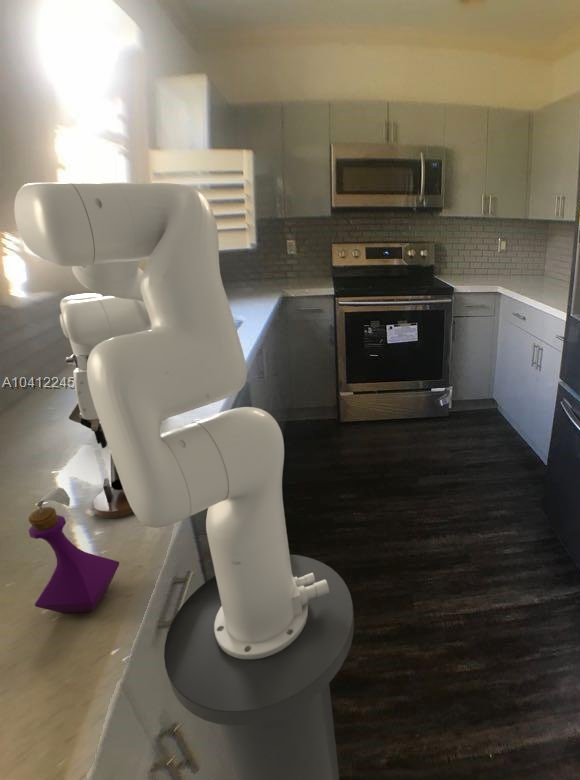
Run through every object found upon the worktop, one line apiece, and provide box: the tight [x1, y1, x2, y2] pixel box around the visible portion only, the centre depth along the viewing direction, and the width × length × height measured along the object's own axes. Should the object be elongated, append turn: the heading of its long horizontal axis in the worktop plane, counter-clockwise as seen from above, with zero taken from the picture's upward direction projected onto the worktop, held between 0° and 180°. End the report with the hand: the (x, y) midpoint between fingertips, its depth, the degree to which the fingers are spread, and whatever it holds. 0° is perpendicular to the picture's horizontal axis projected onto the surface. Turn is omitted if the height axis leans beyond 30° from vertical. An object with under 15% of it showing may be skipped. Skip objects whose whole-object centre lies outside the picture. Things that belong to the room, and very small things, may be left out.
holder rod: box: [103, 432, 124, 490], centre depth 90 cm, size 16×5×3 cm, turn 27°
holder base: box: [92, 477, 134, 519], centre depth 85 cm, size 10×10×5 cm
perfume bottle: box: [27, 486, 120, 614], centre depth 61 cm, size 8×8×18 cm
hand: (121, 441), depth 95 cm, fingers closed on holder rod, 5 cm apart
